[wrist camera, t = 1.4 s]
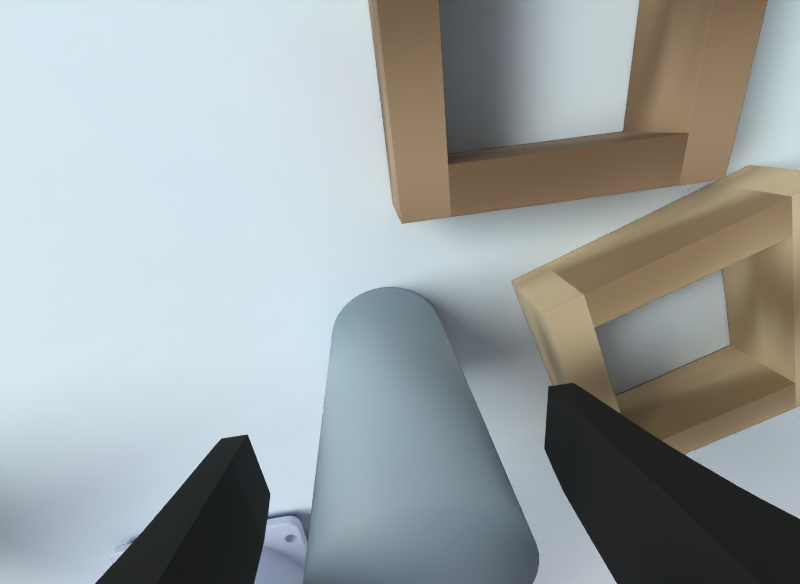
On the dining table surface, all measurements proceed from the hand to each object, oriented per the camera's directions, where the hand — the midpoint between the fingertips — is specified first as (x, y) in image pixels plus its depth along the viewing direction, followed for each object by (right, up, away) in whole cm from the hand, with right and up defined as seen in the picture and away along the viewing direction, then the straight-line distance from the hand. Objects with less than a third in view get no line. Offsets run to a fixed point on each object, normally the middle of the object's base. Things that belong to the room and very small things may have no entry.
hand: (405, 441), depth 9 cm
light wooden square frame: (+9, +2, +5) cm, 11 cm away
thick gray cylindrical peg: (-1, +2, +5) cm, 5 cm away
